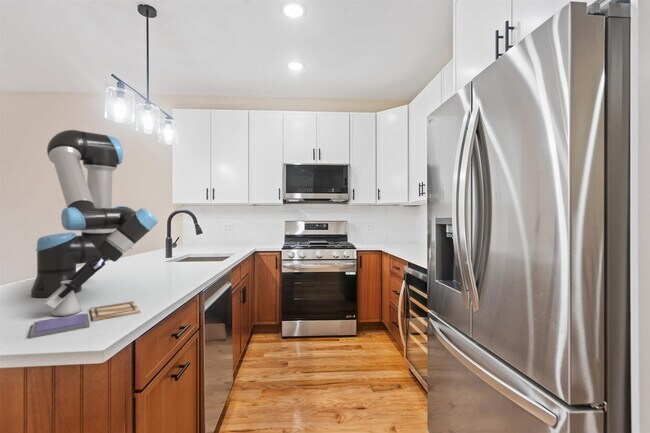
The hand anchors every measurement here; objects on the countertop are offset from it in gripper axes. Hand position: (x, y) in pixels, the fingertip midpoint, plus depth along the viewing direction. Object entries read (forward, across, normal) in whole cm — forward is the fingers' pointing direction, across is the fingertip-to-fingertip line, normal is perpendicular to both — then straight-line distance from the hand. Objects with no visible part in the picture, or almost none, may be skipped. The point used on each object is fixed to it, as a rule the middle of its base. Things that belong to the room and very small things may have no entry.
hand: (50, 303), depth 95 cm
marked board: (-9, -7, -14) cm, 18 cm away
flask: (0, 0, -5) cm, 5 cm away
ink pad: (+1, -13, -5) cm, 14 cm away
